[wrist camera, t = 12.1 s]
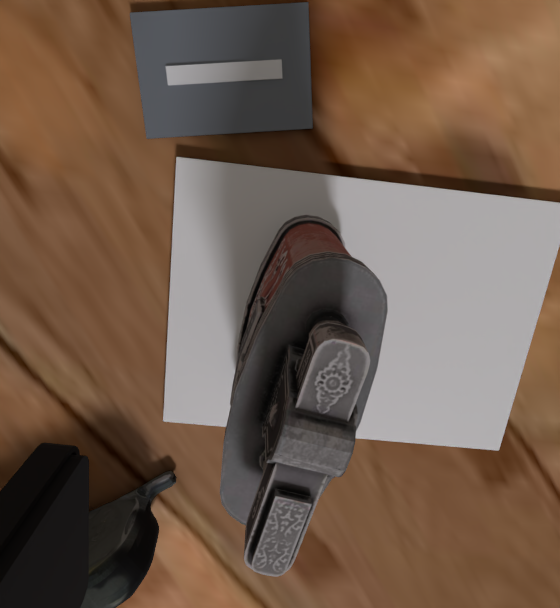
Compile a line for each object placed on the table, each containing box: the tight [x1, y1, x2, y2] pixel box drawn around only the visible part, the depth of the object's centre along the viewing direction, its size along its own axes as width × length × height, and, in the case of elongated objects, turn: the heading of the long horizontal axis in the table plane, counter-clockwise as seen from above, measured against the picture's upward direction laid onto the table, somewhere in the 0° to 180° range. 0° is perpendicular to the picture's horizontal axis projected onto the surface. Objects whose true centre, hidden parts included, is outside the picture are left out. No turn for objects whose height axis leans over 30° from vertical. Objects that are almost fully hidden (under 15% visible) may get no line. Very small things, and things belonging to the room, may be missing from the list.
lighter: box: [220, 215, 388, 576], centre depth 15 cm, size 8×3×10 cm, turn 163°
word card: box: [130, 2, 313, 139], centre depth 17 cm, size 6×4×1 cm, turn 93°
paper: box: [163, 157, 560, 451], centre depth 20 cm, size 15×11×1 cm
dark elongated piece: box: [80, 471, 176, 608], centre depth 21 cm, size 5×3×15 cm
